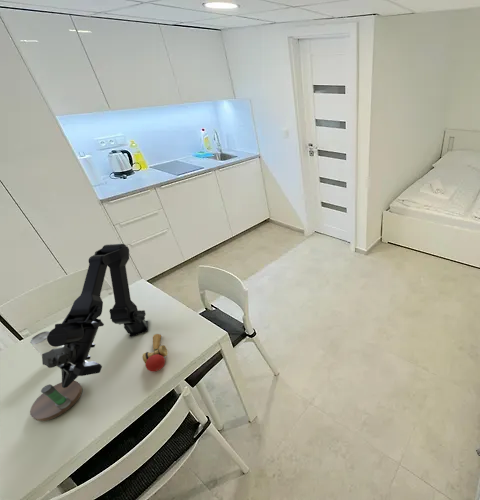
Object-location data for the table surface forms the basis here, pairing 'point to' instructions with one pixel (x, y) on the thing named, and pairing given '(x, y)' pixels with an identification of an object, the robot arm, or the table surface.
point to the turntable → (55, 401)
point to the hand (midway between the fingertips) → (64, 387)
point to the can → (42, 343)
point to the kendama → (155, 355)
